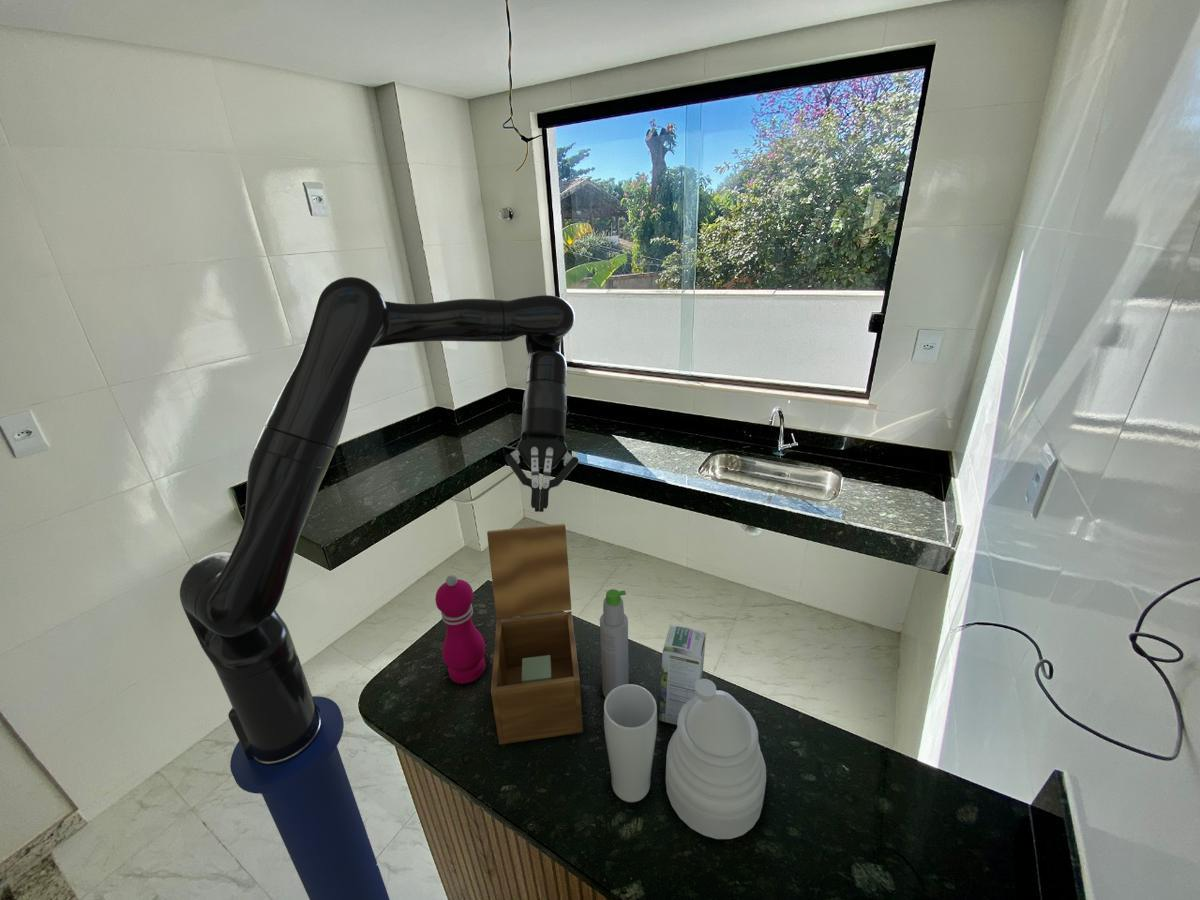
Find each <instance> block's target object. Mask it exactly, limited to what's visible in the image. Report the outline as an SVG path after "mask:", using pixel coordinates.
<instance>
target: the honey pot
mask: <svg viewBox="0 0 1200 900" xmlns="http://www.w3.org/2000/svg"><path fill="white" fill-rule="evenodd" d="M695 692H696V695H697V696H695V697H694V698H692V699H690V700H688V701H687V702H686V703H685V704H684V705H683V706H682V708H681V710H680V712H679V715H678V721H677V725H676V730H674V732H673V733H672V735H671V738H670V740H669V741H668V744H667V749H666V759H665V760H666V761H665V788H666V795H667V797H668V800H669V802H670V805H671V807H672V808H673V810H674V812H675V813H676V814H677V816H678V817H679V819H680V820H681V821H682V822H684V824H686V825H687V826H688V827H689V828H690V829H691V830H693V831H694V832H697V833H698V834H700V835H702V836H704V837H708V838H712V839H715V840H731V839H736V838H739V837H742V836H744V835H745V834H746V833H748V832H749V831H750V830H751V829H753V828H754V826H755V825H756V823H757V822H758V820H759V819H760V817H761V814H762V810H763V805H764V801H765V800H764V799H765V793H766V783H767V766H766V762H765V759H764V756H763V752H762V751H761V746H760V741H759V731H758V727H757V724H756V721H755V719H754V718H753V716H752V714H751V713H750V712H749V711H748V710H747V709H746V707H744V706H743V704H742V703H739V702H738V700H737V699H736V698H735V697H734V696H733V695H732V694H730V693H729V692H727V691H724V690H721V689H720V690H719V689H718V690H717V686H716V684H715V682H713V681H712V680H711V679H708V678H702V679H700V680H698V681H697V682H696V683H695Z"/></svg>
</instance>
